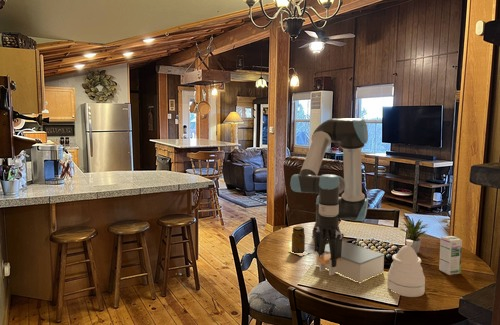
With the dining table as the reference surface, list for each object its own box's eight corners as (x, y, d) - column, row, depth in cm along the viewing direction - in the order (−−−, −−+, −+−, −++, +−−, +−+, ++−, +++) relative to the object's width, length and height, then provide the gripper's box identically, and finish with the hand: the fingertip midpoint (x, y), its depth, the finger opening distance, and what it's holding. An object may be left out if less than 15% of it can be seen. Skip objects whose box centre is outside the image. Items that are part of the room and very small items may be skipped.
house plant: (425, 260, 166) (427, 224, 164) (393, 253, 174) (395, 219, 172) (432, 251, 177) (434, 217, 175) (402, 245, 186) (403, 213, 184)
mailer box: (316, 266, 159) (316, 249, 158) (340, 257, 169) (340, 241, 168) (359, 283, 142) (360, 265, 141) (383, 273, 152) (384, 255, 151)
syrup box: (449, 275, 150) (451, 240, 148) (438, 269, 155) (440, 236, 154) (460, 273, 151) (463, 239, 149) (449, 268, 157) (451, 235, 155)
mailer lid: (300, 255, 153) (300, 250, 152) (340, 243, 168) (340, 239, 168) (345, 272, 135) (345, 267, 135) (384, 257, 151) (384, 253, 151)
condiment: (298, 249, 181) (298, 225, 180) (311, 253, 174) (311, 228, 173) (287, 252, 176) (287, 227, 175) (300, 257, 170) (301, 231, 168)
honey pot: (393, 278, 147) (395, 234, 145) (428, 287, 139) (431, 241, 137) (382, 289, 137) (383, 242, 135) (418, 300, 129) (421, 250, 127)
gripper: (305, 211, 148) (304, 267, 151) (340, 220, 135) (338, 282, 138) (318, 209, 153) (317, 263, 155) (352, 217, 139) (350, 276, 142)
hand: (327, 272), depth 146 cm, fingers closed on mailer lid, 4 cm apart
